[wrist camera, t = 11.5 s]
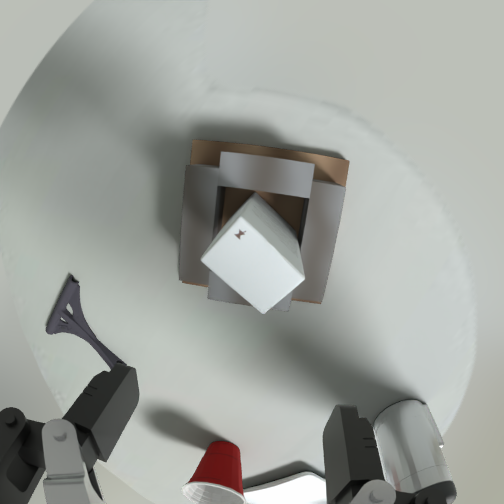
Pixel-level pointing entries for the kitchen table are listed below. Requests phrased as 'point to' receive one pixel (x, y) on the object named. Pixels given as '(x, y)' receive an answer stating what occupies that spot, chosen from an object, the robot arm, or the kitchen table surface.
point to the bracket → (77, 322)
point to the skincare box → (257, 254)
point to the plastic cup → (217, 476)
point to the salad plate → (289, 490)
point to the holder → (275, 194)
